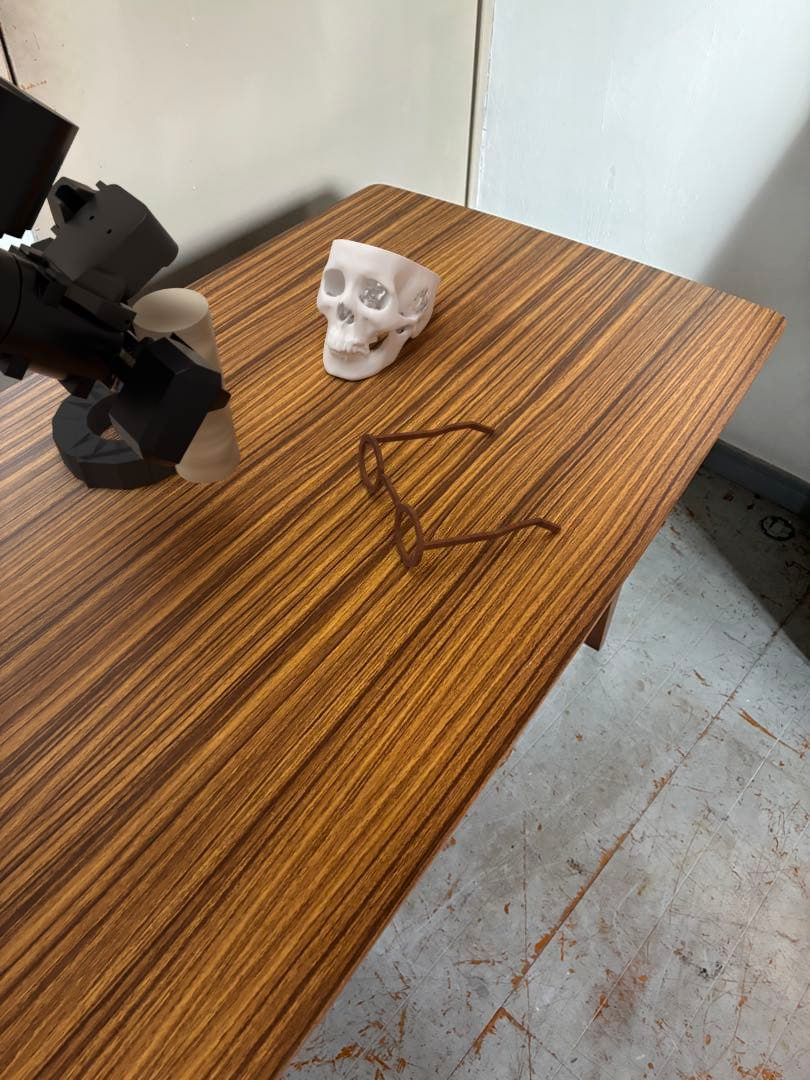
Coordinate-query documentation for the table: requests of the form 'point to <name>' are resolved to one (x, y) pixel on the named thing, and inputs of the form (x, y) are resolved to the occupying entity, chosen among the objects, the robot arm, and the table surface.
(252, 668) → the table surface
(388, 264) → the skull bowl
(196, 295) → the beige cylinder
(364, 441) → the glasses
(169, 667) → the table surface
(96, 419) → the black thick flat ring
